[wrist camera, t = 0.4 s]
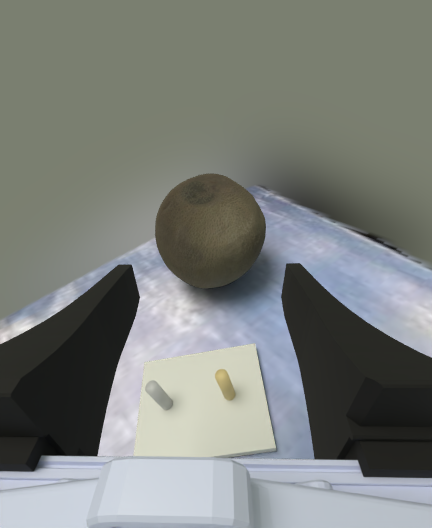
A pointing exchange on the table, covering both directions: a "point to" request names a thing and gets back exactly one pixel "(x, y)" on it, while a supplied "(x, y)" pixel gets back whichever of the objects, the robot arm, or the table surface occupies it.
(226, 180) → the cantaloupe
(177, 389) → the pin board
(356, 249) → the table surface
